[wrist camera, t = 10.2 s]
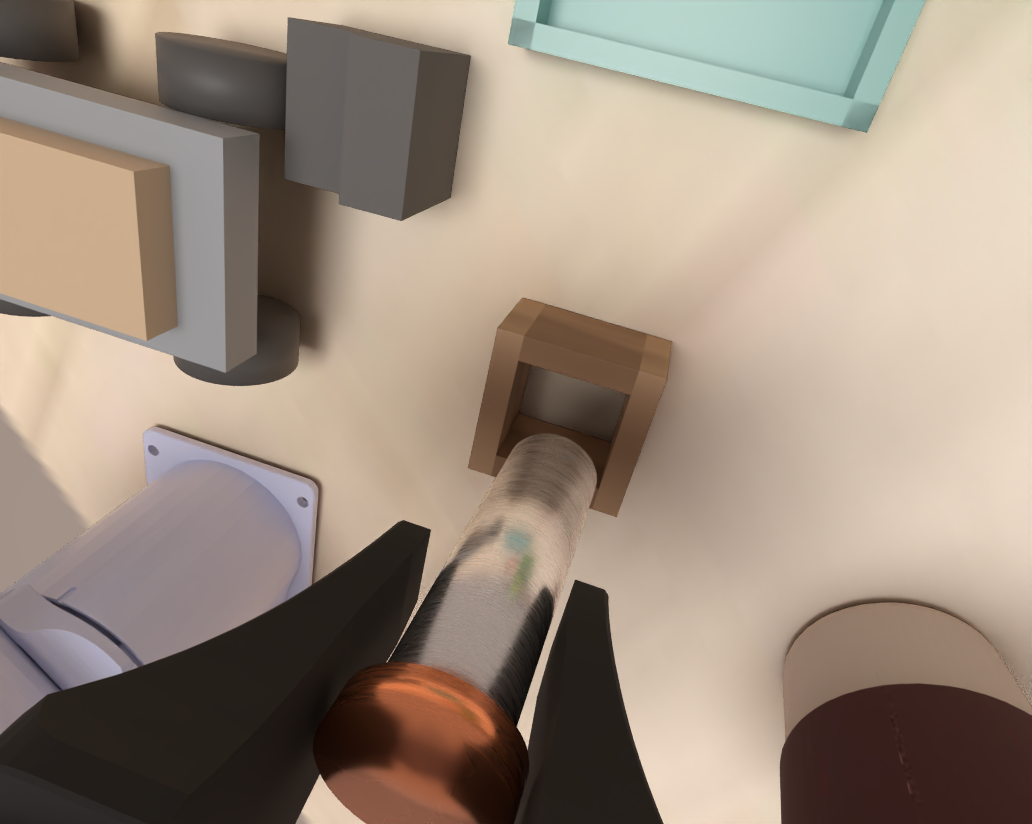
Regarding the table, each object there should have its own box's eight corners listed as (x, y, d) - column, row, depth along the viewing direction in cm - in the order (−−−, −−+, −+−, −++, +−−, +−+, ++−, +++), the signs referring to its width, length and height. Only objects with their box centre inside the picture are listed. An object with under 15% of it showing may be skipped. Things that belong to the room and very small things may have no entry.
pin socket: (626, 468, 23) (616, 516, 21) (493, 425, 24) (467, 468, 21) (671, 341, 21) (667, 378, 18) (522, 297, 21) (497, 327, 19)
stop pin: (593, 540, 18) (490, 884, 10) (483, 500, 18) (307, 800, 11) (627, 444, 16) (537, 766, 9) (506, 402, 17) (319, 674, 9)
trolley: (338, 67, 20) (186, 63, 14) (319, 352, 24) (199, 438, 19) (-4, -22, 21) (-272, -59, 15) (41, 264, 26) (-151, 318, 20)
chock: (451, 197, 21) (401, 220, 17) (335, 166, 21) (264, 183, 18) (471, 55, 19) (420, 50, 15) (343, 25, 19) (265, 13, 16)
